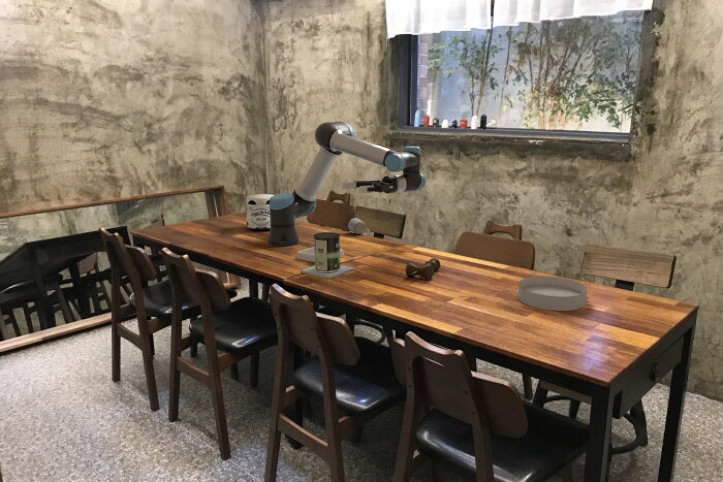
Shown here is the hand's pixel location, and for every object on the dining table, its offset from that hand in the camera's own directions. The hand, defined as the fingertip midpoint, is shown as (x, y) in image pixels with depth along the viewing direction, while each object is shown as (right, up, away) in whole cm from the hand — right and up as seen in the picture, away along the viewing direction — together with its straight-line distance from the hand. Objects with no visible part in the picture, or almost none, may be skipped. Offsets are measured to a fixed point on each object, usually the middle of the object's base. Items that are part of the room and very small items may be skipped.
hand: (350, 188), depth 223 cm
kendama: (+28, -35, -11) cm, 47 cm away
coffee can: (-9, -33, -5) cm, 35 cm away
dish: (+68, -42, -39) cm, 89 cm away
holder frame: (-14, -29, +15) cm, 35 cm away
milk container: (-50, -15, +75) cm, 91 cm away
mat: (-9, -34, -5) cm, 35 cm away
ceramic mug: (+3, -18, +63) cm, 65 cm away
